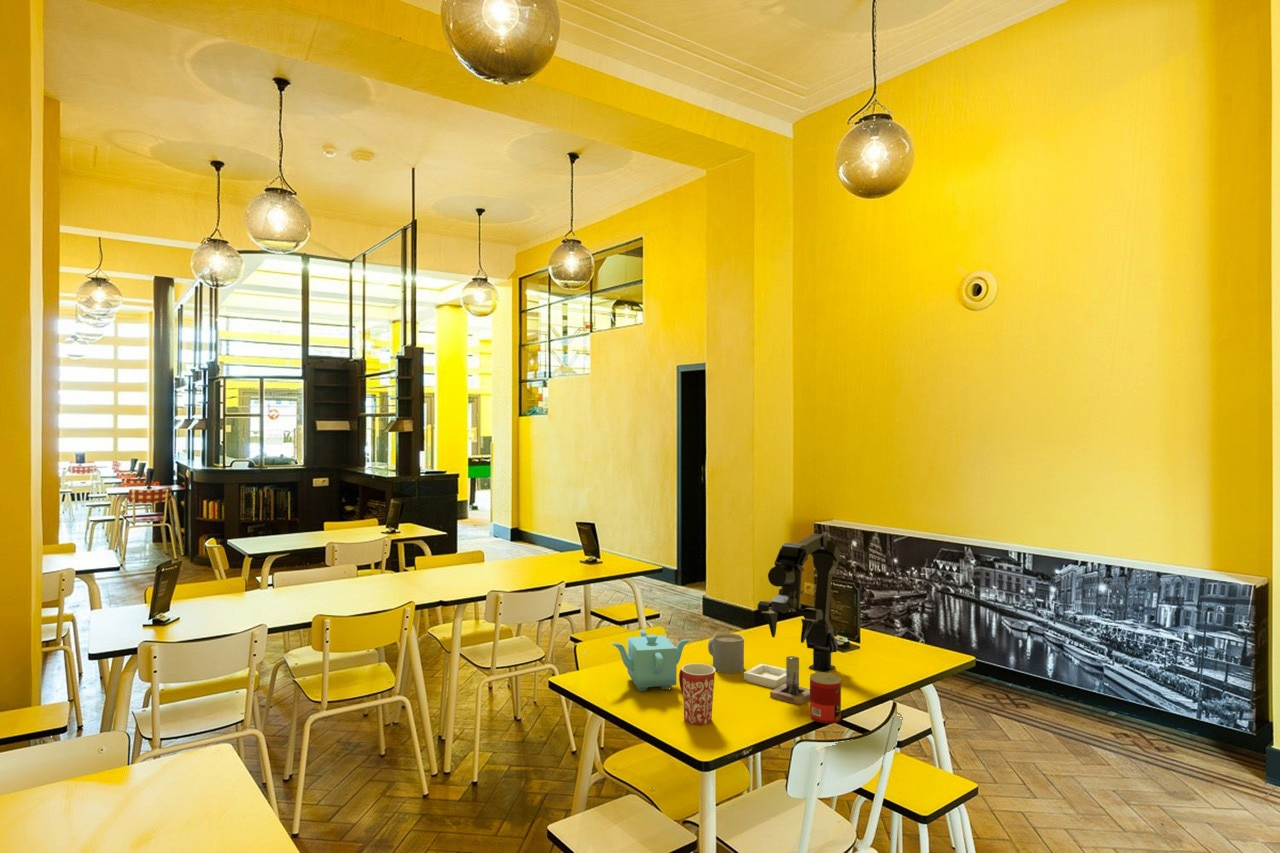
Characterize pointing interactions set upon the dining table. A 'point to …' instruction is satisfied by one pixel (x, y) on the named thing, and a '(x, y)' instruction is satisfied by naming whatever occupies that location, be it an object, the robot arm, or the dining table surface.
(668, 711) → the dining table surface
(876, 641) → the dining table surface
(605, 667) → the dining table surface
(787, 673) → the strut
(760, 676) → the bin tray
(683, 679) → the mug
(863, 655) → the dining table surface
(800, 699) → the brown flat square frame
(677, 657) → the teakettle
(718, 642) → the coffee mug
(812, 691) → the canned food
